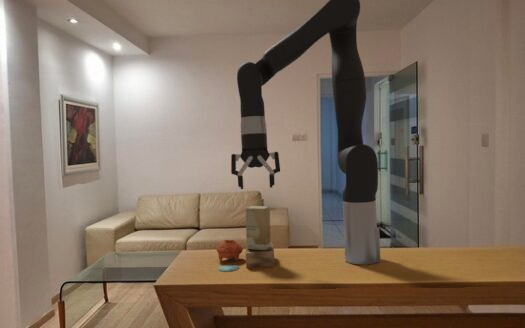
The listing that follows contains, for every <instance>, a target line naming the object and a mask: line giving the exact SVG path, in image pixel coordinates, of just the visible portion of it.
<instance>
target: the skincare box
mask: <svg viewBox="0 0 525 328" xmlns="http://www.w3.org/2000/svg"><path fill="white" fill-rule="evenodd" d="M245 230H246V231H245V232H246V237H245V238H246V239H245V240H246V245H247V249H255V250H267V249H268V248H270V247H271V244H272V242H271V241H272V240H271V206H263V205H262V206H261V205H260V206H259V205H256V206H255V205H251V206H247V207H246V208H245Z"/></svg>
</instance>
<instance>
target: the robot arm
mask: <svg viewBox="0 0 525 328" xmlns="http://www.w3.org/2000/svg"><path fill="white" fill-rule="evenodd" d="M360 13H361V1H360V0H328V1H327V2H326V3H325V4H324V5H323V6H322V7H321V8H319V10H318V11H316V13H314V14H313V15H312V16H311V17H310V18H309V19H307V20H306V21H305V22H303V24H301V25H300V26H299V27H297V28H296V29H295V30H293V31H292V32H290V33H289V34H288V35H286V36H285V37H284V38H282V39H280V40H279V41H278V42H277V43H275V44H274V45H272V46H270V47H269V48H268V49H267V50H266V51H265V52H264V53H263V56H262V57H261V58H260V59H258V61H256V62H251V61H246V62H244V63H242V64H241V65H240V66H239V67H238V70H237V73H236V81H237V83H236V84H237V87H238V88H237V90H238V96H239V101H240V105H239V106H240V140H241V153H239V154H237V153H231V156H230V159H231V161H230V164H231V165H230V169H231V170H230V171H231V172H230V174H231V175H234V176H237V186H238V188H240V190H244V177H243V174H244V172H245V171H246V169H247V168H250V169H251V168H262V167H264V168H265V169H266V170H267V171H268V173H269V174H268V177H269V178H268V180H269V188H270V189H271V188H273V186H275V175H276V173H279V172H281V163H280V157H279V155H280V154H279V151H274V152H269V150H268V135H267V133H268V132H267V124H266V123H267V122H266V121H267V120H266V115H265V114H266V113H265V101H264V98H263V93H262V91H263V90H262V87H263V86H264V85H266V84H267V83H268V82H269V81H270V80H271V79H273V78H274V77H275V76H276V74H277V73H279V72H280V71H282V70H283V69H286V68H287V67H288V66H289V65H291V64H292V63H294V62H295V61H296V60H298V59H299V58H300V57H302V55H304V54H305V53H306V52H307V51H308V50H309V49H310V48H311V47H312V46H314V44H315V43H317V42H318V41H319V40H321V39H322V38H323V37H325V36H326V35H327V34H328V35H329V40H330V41H329V42H330V45H331V83H332V84H331V85H332V87H331V88H332V97H333V102H334V103H333V104H334V112H335V113H334V114H335V120H336V127H337V129H336V130H337V165H338V167H339V169H340V171H341V172H342V173H343V174H344V175H345V188H344V189H343V191H342V193H341V197H342V214H343V215H342V218H343V220H342V221H343V243H344V246H343V247H344V260H345V262H347V263H348V264H354V265H373V264H376V263H381V261H382V260H381V242H380V241H381V238H380V236H381V235H380V228H379V227H377V225H378V224H377V223H378V222H377V220H378V219H377V201H376V199H377V198H376V197H377V195H376V194H377V193H378V189H379V163H378V156H377V154H376V151H375V150H374V149H373V148H372V147H371V146H369V145H367V144H364V140H363V139H364V138H363V130H362V129H363V128H362V127H363V117H364V114H365V108H366V103H367V88H366V87H367V86H366V77H365V71H364V68H363V63H362V59H361V56H360V54H359V50H358V44H357V43H358V42H357V41H358V40H357V28H358V27H357V23H358V19H359V16H360ZM269 158H271V159H272V160H274V165H275V166H274V167H275V168H274V169H272V167H271V166H270V165H269V164H268V163H267V161H268V160H269ZM240 159H241V160H242V161H243V162H244V163H243V165H242V166H241V168H240V169H239V171H238V170H236V169H237V162H238V161H239V160H240Z"/></svg>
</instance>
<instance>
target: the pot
mask: <svg viewBox="0 0 525 328" xmlns="http://www.w3.org/2000/svg"><path fill="white" fill-rule="evenodd" d="M216 252H217V253H218V254H217V255H218V259H219V262H222V261H223V258H224V259H228V260H229V259H231V260H232V259H235V262H238V261H239V258H240V255H241V254H242V252H243V246H242V245H241V244H240V243H239V242H237V240H235V239H224V240H223V242H222V243H220V244H219V245H218V246H217V248H216Z"/></svg>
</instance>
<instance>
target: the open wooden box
mask: <svg viewBox="0 0 525 328" xmlns="http://www.w3.org/2000/svg"><path fill="white" fill-rule="evenodd" d="M275 264H276V263H275V250H274V244H273V243H271V247H270V248H268V249H267V250H255V249H247V244H246V246H245V268H246V269H252V268H272V267H273V268H274V267H276V266H275Z"/></svg>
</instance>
